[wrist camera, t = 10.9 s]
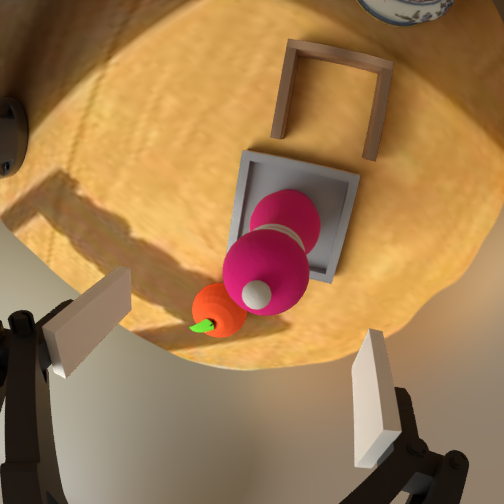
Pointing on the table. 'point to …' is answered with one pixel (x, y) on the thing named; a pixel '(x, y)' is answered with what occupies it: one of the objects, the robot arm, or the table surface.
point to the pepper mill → (273, 254)
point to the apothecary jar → (405, 11)
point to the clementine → (217, 312)
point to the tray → (308, 182)
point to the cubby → (339, 57)
